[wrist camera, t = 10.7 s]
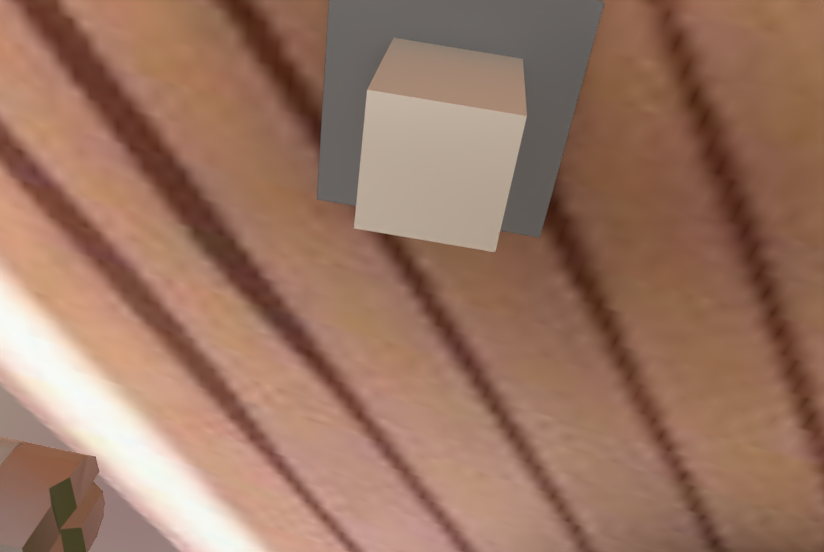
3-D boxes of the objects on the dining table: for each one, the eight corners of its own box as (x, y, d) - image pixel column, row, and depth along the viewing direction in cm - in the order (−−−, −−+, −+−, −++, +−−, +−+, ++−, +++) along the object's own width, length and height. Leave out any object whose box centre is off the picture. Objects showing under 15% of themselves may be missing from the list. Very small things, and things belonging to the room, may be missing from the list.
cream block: (522, 58, 24) (527, 116, 19) (497, 176, 26) (495, 252, 22) (393, 37, 24) (367, 89, 19) (380, 157, 26) (354, 228, 22)
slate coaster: (601, -4, 23) (604, 1, 23) (539, 227, 28) (539, 237, 28) (336, -48, 23) (331, -44, 23) (321, 190, 28) (317, 199, 28)
